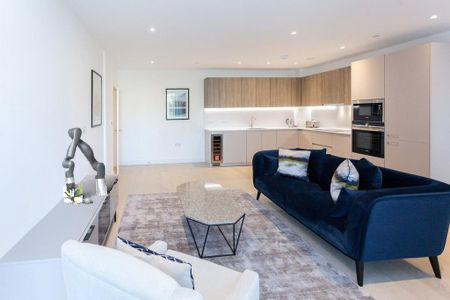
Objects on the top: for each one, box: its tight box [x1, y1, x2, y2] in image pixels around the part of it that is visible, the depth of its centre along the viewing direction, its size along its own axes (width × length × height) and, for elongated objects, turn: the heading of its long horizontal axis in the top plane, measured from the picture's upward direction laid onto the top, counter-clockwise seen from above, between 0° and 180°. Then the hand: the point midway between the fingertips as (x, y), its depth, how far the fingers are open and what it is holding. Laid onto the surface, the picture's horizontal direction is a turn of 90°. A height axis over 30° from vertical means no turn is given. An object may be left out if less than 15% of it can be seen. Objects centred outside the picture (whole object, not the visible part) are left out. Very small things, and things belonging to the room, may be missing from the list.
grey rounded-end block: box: [84, 197, 92, 205], centre depth 328 cm, size 5×5×5 cm
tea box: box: [63, 183, 84, 203], centre depth 343 cm, size 15×10×15 cm, turn 168°
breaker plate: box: [71, 198, 93, 206], centre depth 333 cm, size 14×11×2 cm
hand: (72, 200), depth 330 cm, fingers closed
